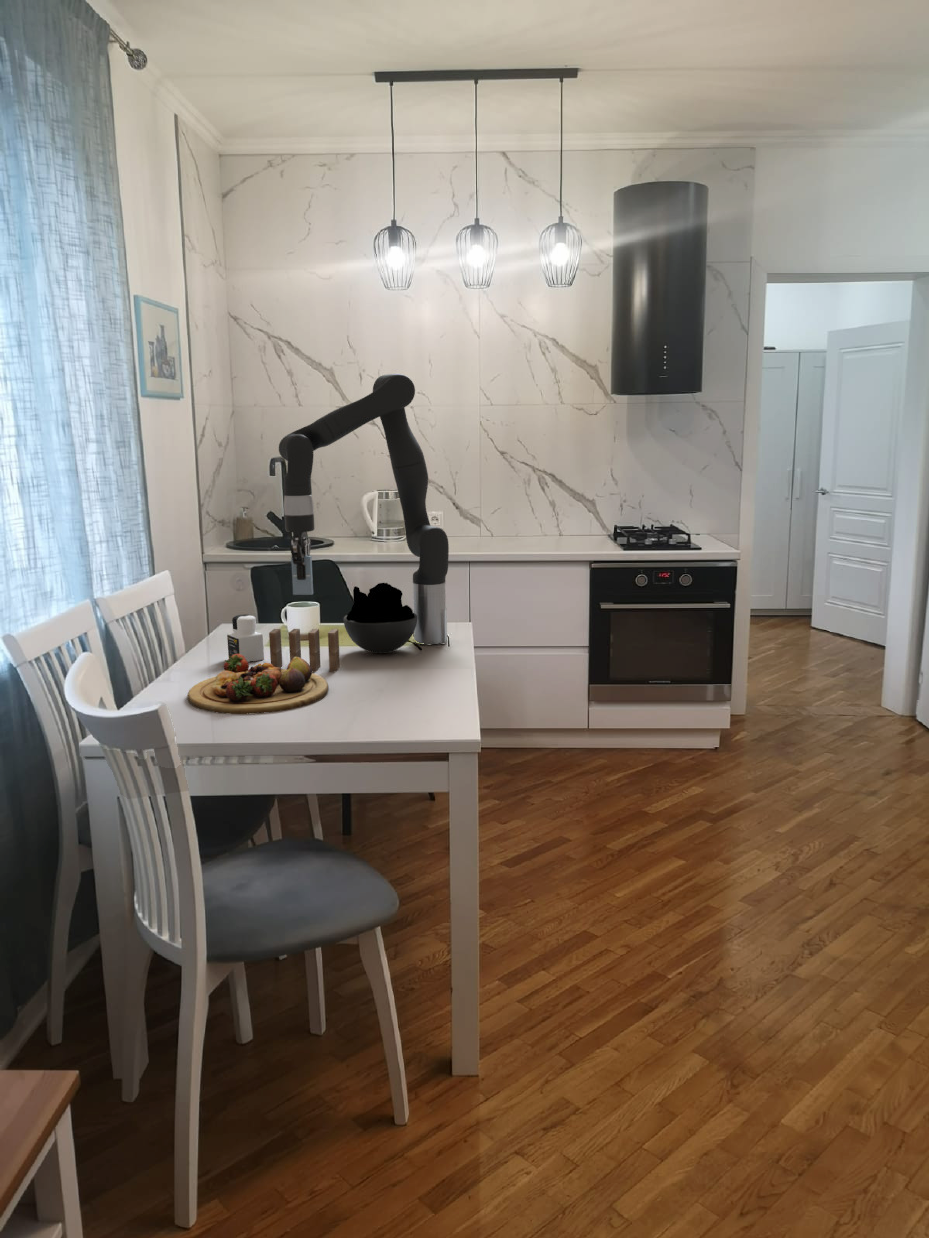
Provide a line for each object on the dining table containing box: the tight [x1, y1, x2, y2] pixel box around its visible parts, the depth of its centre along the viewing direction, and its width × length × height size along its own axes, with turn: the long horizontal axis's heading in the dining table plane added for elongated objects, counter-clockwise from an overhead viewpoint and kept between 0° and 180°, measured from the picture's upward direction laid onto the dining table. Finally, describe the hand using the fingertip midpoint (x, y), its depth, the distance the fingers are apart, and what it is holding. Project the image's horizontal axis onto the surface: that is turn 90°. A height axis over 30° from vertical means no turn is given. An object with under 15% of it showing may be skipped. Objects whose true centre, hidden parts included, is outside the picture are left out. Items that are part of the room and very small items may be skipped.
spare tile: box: [290, 555, 314, 596], centre depth 252 cm, size 2×5×10 cm, turn 85°
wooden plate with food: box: [187, 654, 330, 715], centre depth 222 cm, size 32×32×8 cm
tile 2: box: [327, 628, 341, 673], centre depth 244 cm, size 2×5×10 cm, turn 176°
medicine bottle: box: [226, 614, 265, 663], centre depth 256 cm, size 7×7×12 cm
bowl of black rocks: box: [342, 582, 417, 654], centre depth 261 cm, size 20×20×19 cm
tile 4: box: [288, 628, 302, 662], centre depth 245 cm, size 2×5×10 cm, turn 176°
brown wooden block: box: [268, 628, 283, 669], centre depth 245 cm, size 2×5×10 cm, turn 176°
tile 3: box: [307, 628, 322, 673], centre depth 245 cm, size 2×5×10 cm, turn 176°
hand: (302, 578), depth 253 cm, fingers closed on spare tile, 1 cm apart
